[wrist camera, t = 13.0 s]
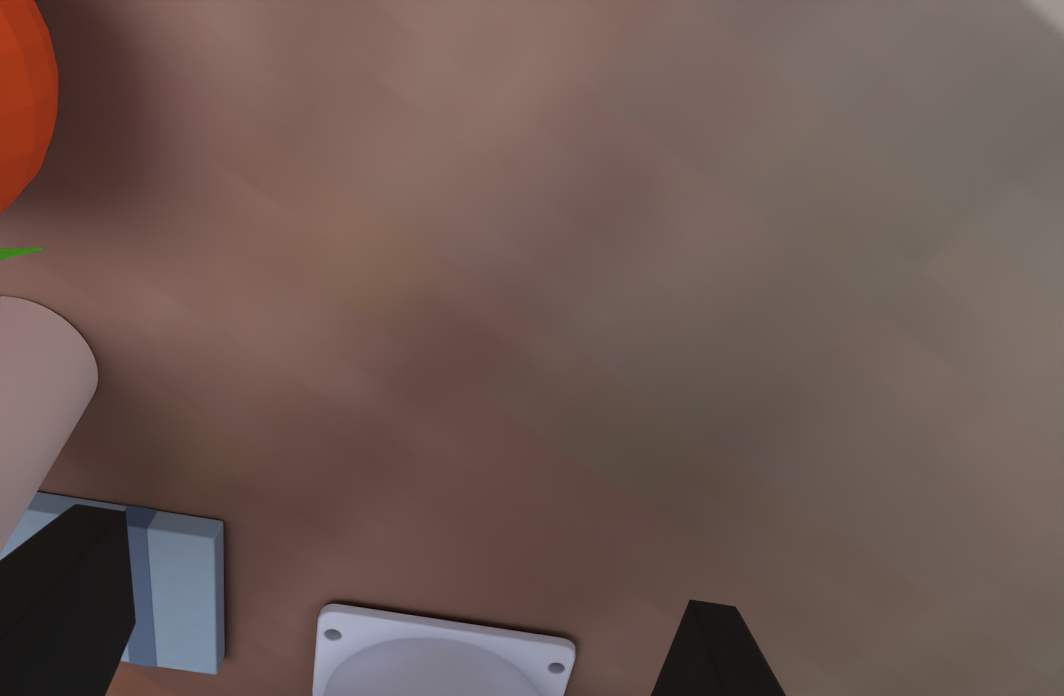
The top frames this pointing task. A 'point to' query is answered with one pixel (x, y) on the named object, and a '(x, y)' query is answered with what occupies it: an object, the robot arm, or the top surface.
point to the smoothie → (36, 399)
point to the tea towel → (160, 581)
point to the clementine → (24, 100)
